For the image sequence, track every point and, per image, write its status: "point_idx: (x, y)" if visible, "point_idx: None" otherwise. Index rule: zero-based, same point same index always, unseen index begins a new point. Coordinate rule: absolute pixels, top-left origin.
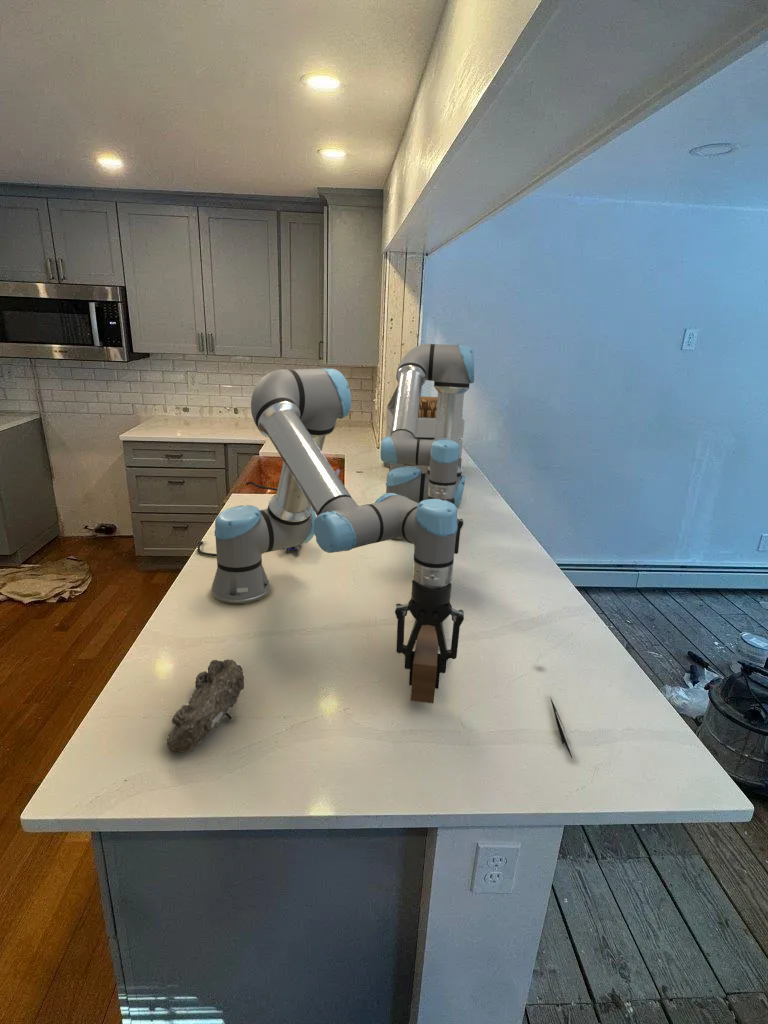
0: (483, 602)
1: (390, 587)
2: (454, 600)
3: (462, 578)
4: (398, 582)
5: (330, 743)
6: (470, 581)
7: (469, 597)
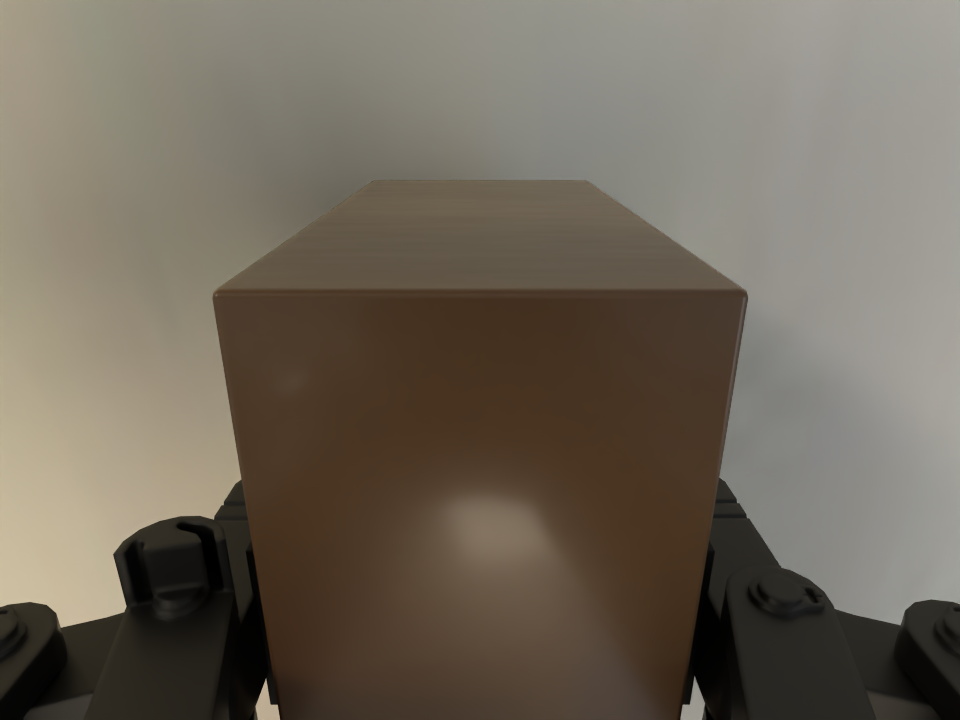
0: (902, 612)
1: (82, 526)
2: None
3: (808, 183)
4: (120, 422)
5: None
6: (887, 243)
7: (799, 560)
